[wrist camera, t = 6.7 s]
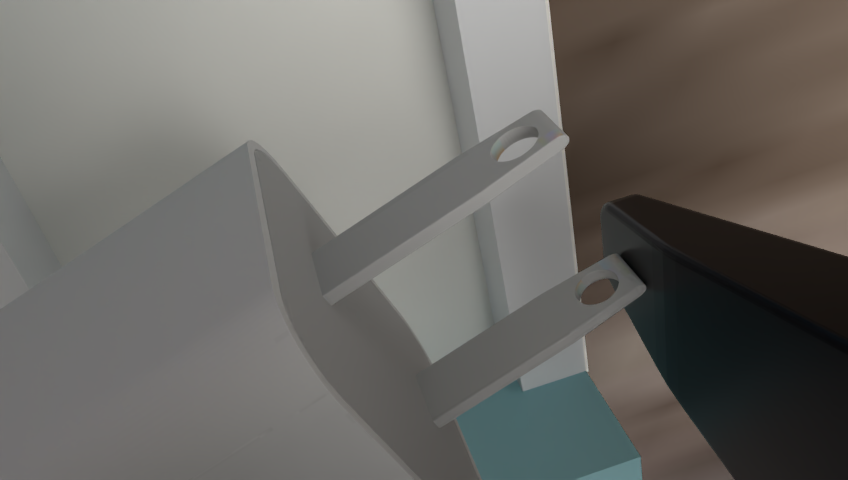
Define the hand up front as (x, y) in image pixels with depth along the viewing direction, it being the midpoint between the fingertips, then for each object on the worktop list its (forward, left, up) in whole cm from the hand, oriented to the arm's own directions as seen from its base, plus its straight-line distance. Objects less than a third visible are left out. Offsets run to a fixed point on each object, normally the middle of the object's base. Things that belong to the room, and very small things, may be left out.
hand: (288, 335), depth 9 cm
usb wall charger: (0, 0, -1) cm, 1 cm away
